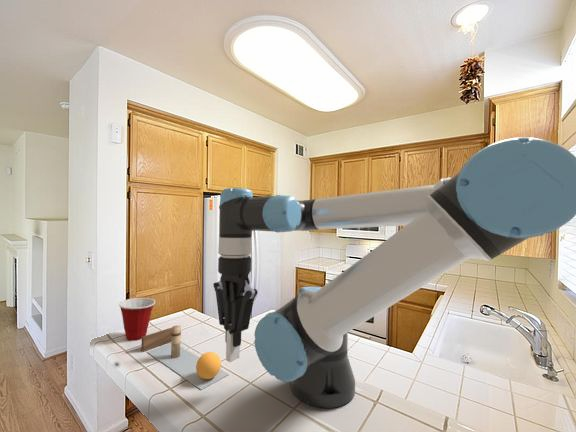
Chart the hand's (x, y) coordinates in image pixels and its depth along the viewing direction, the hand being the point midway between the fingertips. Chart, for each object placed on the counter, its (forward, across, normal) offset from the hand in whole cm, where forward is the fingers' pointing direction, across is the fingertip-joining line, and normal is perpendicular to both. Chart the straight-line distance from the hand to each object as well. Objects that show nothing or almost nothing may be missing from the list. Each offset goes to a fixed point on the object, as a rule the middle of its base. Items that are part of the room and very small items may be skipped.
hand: (232, 358), depth 60 cm
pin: (+8, +25, 0) cm, 26 cm away
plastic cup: (+8, +48, +1) cm, 48 cm away
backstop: (+8, +36, 0) cm, 37 cm away
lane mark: (+8, +20, 0) cm, 22 cm away
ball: (+5, +9, 0) cm, 10 cm away
